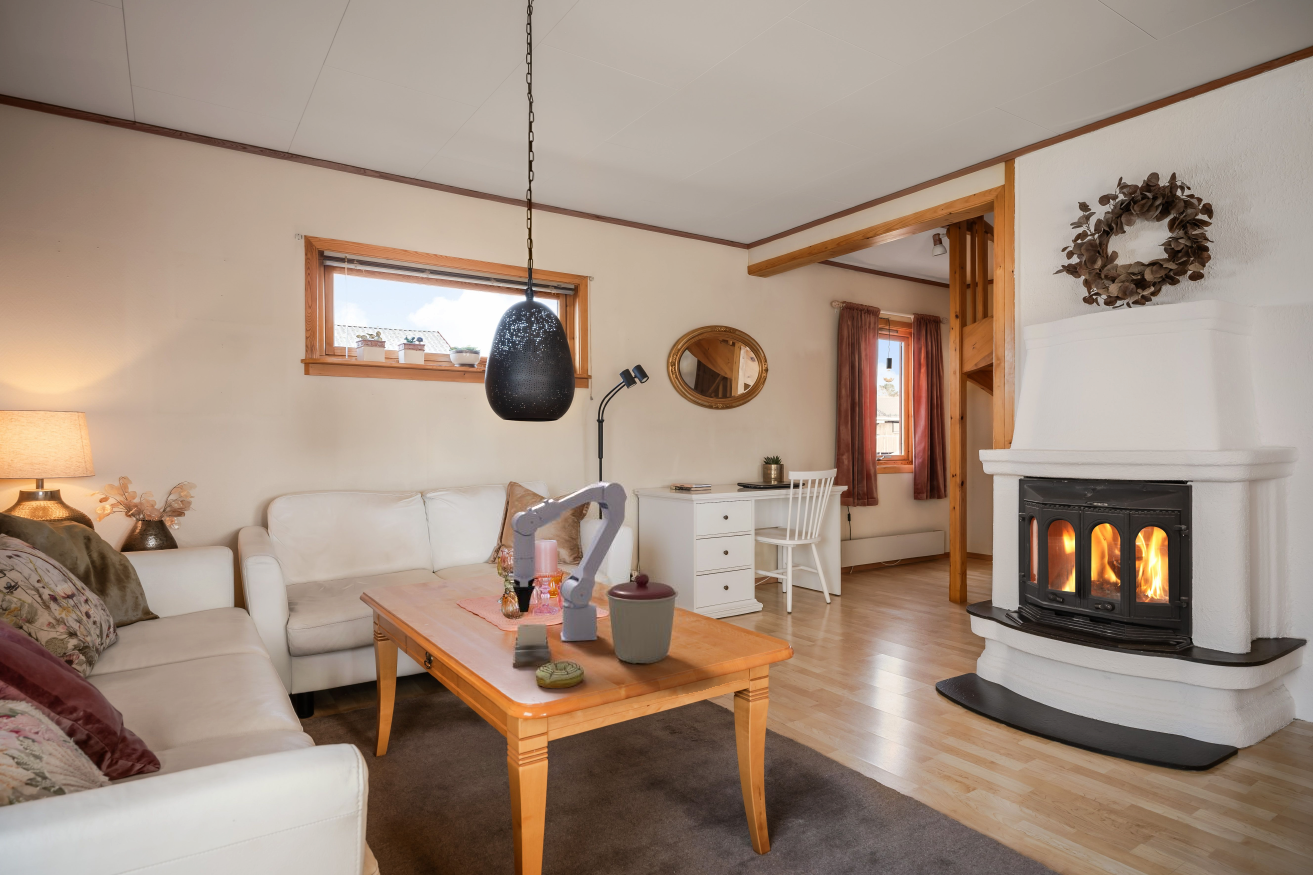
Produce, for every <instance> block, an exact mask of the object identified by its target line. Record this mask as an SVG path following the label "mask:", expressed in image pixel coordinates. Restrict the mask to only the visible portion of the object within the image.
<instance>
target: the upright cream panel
mask: <svg viewBox="0 0 1313 875" xmlns="http://www.w3.org/2000/svg"><path fill="white" fill-rule="evenodd" d="M546 636H547V624H546V623H537V624H536V623H535V624H534V623H533V624H518V625H517V637H518V642H517V646H524V645H546Z"/></svg>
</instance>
